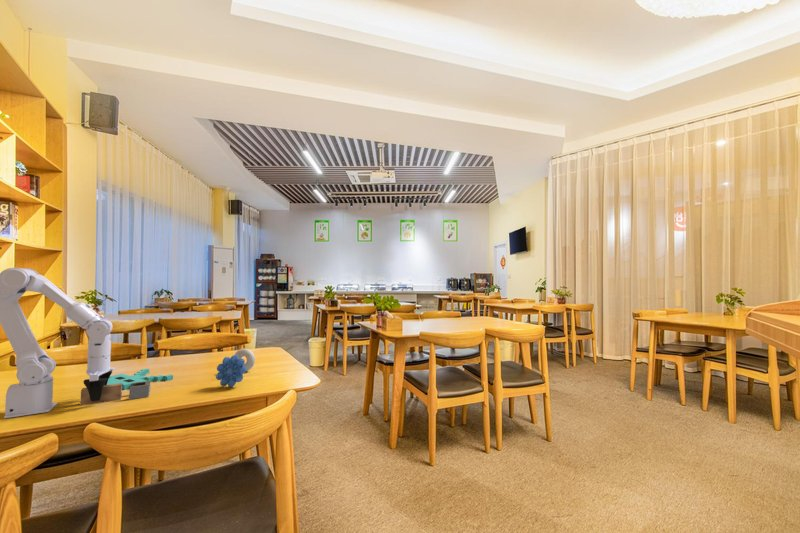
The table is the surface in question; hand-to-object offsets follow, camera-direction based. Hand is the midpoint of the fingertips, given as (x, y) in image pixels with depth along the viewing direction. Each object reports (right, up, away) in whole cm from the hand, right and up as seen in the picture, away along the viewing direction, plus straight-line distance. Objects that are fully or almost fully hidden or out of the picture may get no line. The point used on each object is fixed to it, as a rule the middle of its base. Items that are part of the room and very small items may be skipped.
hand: (97, 397), depth 112 cm
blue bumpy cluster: (+36, -2, +17) cm, 40 cm away
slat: (+1, -2, 0) cm, 2 cm away
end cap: (+9, -2, +6) cm, 11 cm away
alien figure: (-5, -3, +20) cm, 21 cm away
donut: (+31, -3, +37) cm, 48 cm away
